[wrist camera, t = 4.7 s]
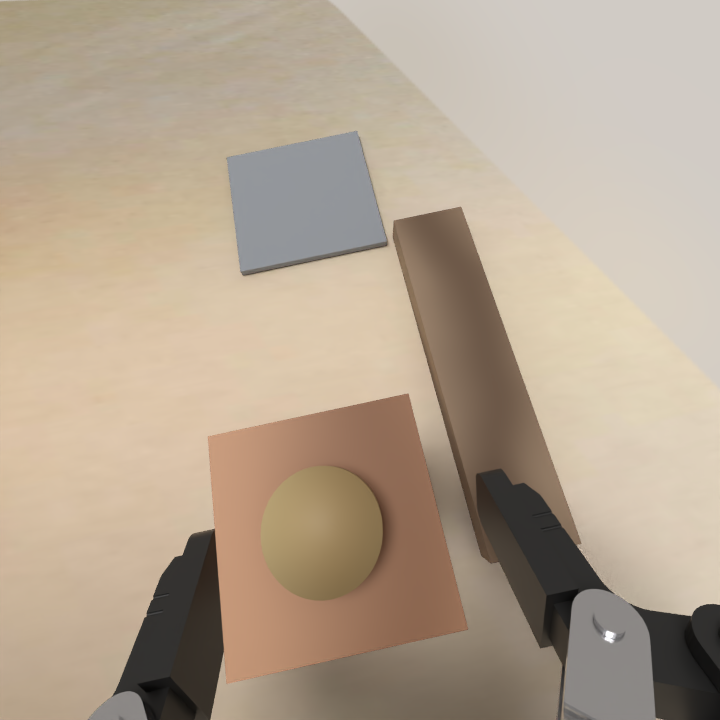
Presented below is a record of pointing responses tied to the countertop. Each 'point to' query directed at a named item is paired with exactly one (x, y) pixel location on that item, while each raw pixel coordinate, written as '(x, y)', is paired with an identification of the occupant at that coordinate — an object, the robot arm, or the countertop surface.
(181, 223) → the countertop surface
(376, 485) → the post
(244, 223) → the slate mat
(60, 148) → the countertop surface
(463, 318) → the walnut board
